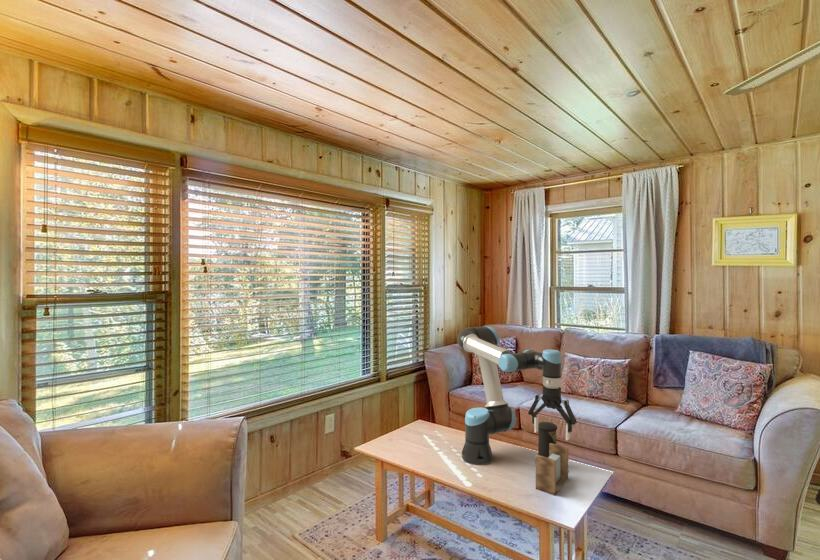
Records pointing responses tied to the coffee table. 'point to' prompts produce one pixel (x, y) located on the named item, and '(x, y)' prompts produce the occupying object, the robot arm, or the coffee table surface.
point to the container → (546, 437)
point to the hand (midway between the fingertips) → (551, 435)
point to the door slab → (557, 458)
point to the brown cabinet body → (551, 470)
